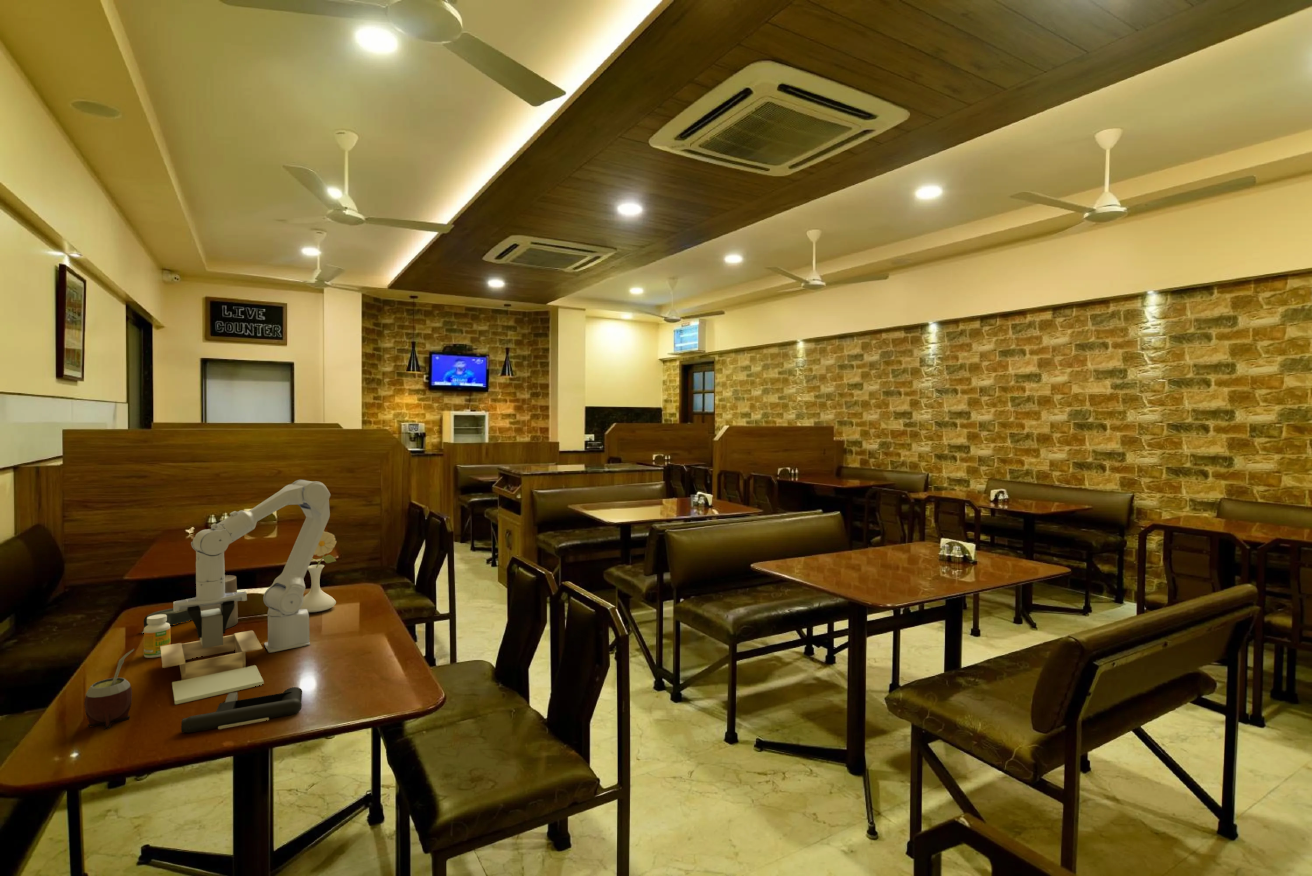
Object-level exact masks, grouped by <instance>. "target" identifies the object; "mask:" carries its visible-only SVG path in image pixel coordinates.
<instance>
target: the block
mask: <svg viewBox="0 0 1312 876" xmlns="http://www.w3.org/2000/svg"><path fill="white" fill-rule="evenodd" d="M201 630H202V638H199V641H201V644H202V648H208V647H213V646H219V645H223V637H224V634H223V616H222V613H221V611H220V609H219V608H217V609H211V610H204V611H201Z"/></svg>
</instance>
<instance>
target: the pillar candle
mask: <svg viewBox="0 0 1312 876" xmlns="http://www.w3.org/2000/svg"><path fill="white" fill-rule="evenodd" d="M237 583H238V582H237V576H236V575H231V574H229V575H228V574H225V593H234V592H238V585H237ZM234 604H235V606H234V609H233V611H232V613H231V615H230V617H229V619H228V622H227V625H226V629H230V628H232V627H234V626H236V625H238V623H239V616H238V615H239V613H238V612H239V609H238V601H236V602H234ZM217 608H219V609H220V611H221V604H216V605H209V606H202V607H200V611H204V610H211V609H217Z"/></svg>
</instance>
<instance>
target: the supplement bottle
mask: <svg viewBox="0 0 1312 876" xmlns="http://www.w3.org/2000/svg"><path fill="white" fill-rule="evenodd" d="M166 621H167V615H165V614H159V615H153V616H149V617H147V624H148V625H147V626H146V627H145V628H144V627H143V631H144V634H143V657H144V658H147V659H148V658H149V659H151V658H152V659H153V658H161V649H160V646H166V645H171V643H172V641H171V638H172V637H171V631H172V630H171V626H170V624H169V623H166Z"/></svg>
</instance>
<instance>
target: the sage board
mask: <svg viewBox="0 0 1312 876" xmlns="http://www.w3.org/2000/svg"><path fill="white" fill-rule="evenodd" d="M261 675H262V674H261V673H260V671H259V669H258V667H257V665H255V664H254V665H250V666H246V667H244V668H239V669H234V670H229V671H225V672H220V673H215V674H210V675H205V676H200V677H195V678H191V679H186V680H182V679H181V680H177V681H172V682H171V686H172V693H173V701H174V705H179V704H184V703H189V702H192V701H199V700H202V699H206V698H210V697H215V696H219V695H224V694H229V693H234V692H238V691H240V690H241V691H242V690H246V689H251V688H255V686H256V687H259V685H260V686H263V685H262V684H265V681H264V679H263V677H262V676H261Z"/></svg>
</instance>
